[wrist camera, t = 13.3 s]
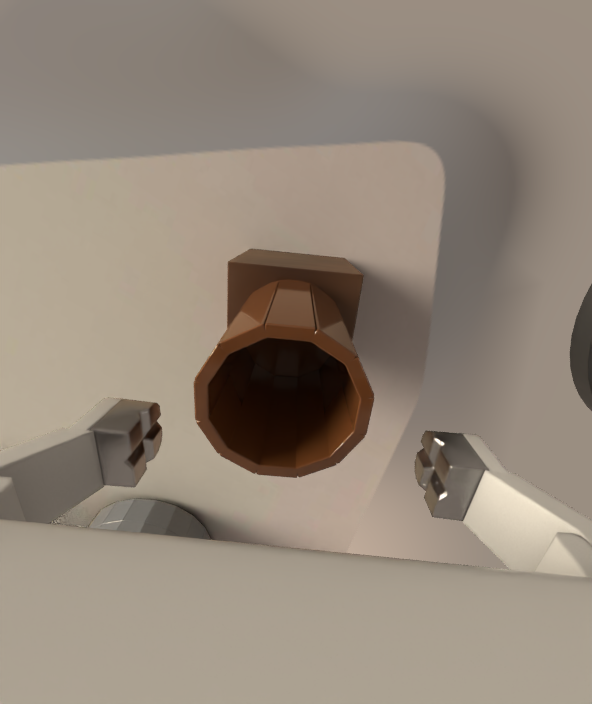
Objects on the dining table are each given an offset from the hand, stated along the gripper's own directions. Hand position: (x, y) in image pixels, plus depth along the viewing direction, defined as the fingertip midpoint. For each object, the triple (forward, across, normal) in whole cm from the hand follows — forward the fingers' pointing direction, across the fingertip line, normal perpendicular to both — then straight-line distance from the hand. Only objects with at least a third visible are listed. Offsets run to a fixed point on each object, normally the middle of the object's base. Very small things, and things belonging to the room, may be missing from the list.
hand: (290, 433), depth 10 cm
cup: (+9, 0, 0) cm, 9 cm away
